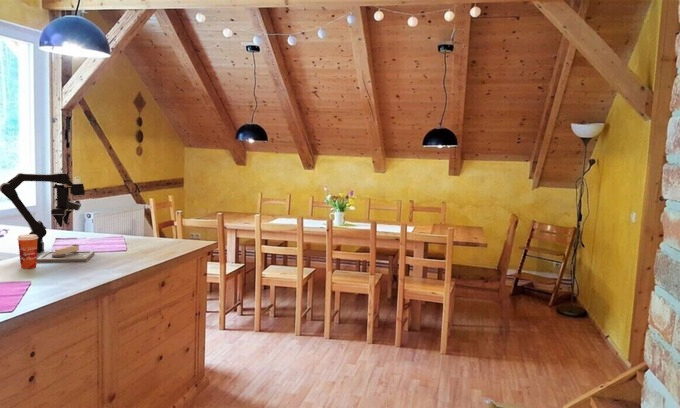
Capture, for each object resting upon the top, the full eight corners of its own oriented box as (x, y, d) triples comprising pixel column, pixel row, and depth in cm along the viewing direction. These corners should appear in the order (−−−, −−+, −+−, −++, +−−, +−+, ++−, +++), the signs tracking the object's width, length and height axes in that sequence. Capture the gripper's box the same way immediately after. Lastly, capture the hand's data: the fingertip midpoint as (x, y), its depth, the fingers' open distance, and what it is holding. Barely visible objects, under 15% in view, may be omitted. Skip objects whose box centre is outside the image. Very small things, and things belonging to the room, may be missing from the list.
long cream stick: (58, 257, 246) (57, 250, 246) (49, 256, 248) (48, 249, 248) (81, 252, 260) (81, 245, 259) (72, 251, 262) (72, 243, 261)
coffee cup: (19, 270, 227) (18, 237, 226) (17, 266, 234) (15, 234, 232) (40, 268, 233) (39, 236, 231) (37, 264, 239) (36, 233, 237)
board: (35, 262, 242) (35, 258, 242) (47, 254, 258) (47, 250, 258) (85, 261, 247) (85, 257, 247) (94, 254, 263) (94, 250, 263)
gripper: (74, 198, 261) (75, 228, 263) (83, 194, 279) (84, 222, 281) (50, 198, 259) (51, 228, 260) (61, 194, 277) (62, 222, 279)
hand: (63, 225), depth 270 cm, fingers open, 9 cm apart
